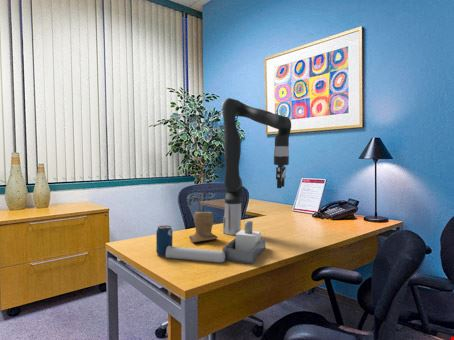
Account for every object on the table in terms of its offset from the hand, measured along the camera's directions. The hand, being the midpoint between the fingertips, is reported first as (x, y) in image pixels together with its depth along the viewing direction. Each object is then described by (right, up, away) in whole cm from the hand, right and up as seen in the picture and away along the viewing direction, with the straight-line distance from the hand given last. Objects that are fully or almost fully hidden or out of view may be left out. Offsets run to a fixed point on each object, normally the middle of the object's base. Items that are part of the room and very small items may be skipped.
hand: (280, 187), depth 156 cm
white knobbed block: (-18, -27, -14) cm, 35 cm away
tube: (-40, -29, -28) cm, 57 cm away
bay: (-19, -29, -19) cm, 39 cm away
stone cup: (-40, -28, +2) cm, 49 cm away
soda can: (-55, -28, -21) cm, 65 cm away
